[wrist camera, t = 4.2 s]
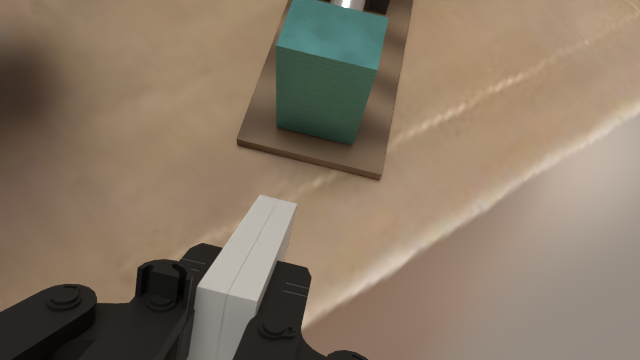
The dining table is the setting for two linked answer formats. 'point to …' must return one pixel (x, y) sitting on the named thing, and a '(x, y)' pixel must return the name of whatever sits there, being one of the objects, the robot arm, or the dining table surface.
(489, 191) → the dining table surface
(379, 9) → the bearing block
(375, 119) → the walnut board
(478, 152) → the dining table surface
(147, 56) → the dining table surface
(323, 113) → the shaft
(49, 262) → the dining table surface
